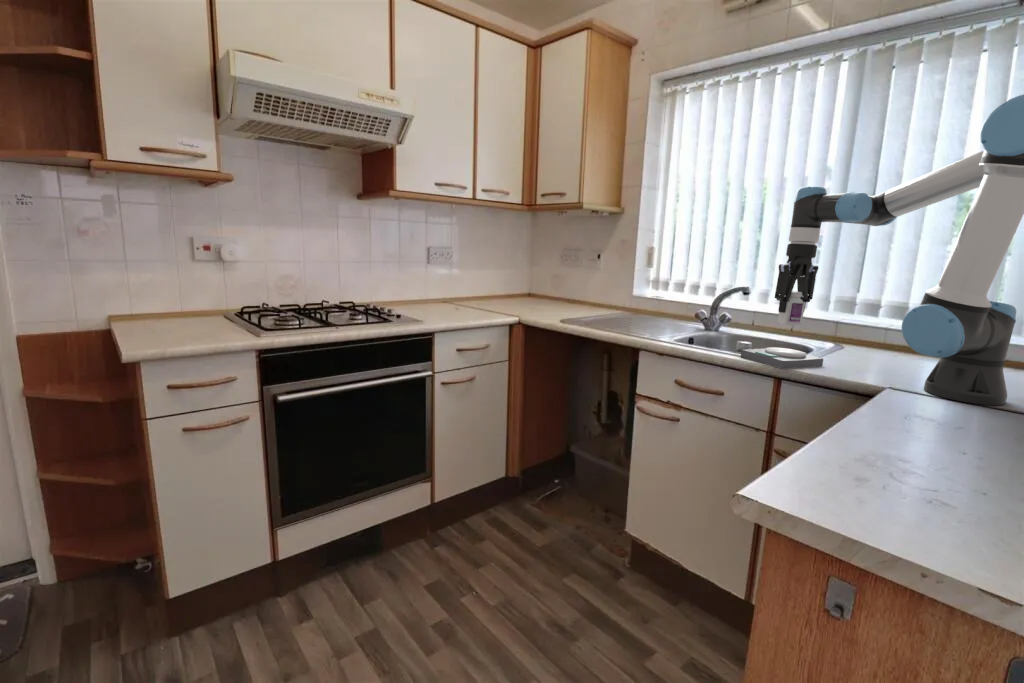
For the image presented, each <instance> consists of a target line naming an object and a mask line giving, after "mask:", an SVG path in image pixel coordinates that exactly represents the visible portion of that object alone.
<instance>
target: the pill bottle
mask: <svg viewBox="0 0 1024 683" xmlns="http://www.w3.org/2000/svg"><path fill="white" fill-rule="evenodd" d="M801 296H802V292H798V291H797V290H796V291H793V290H792V293H791V295H790V298H789V301H788V302H791V303H790V309H789V315H788V321H787V324H784V325H786V326H799V325H801V324H800V318H801V312H802V306H803V301H802V299H800V297H801Z"/></svg>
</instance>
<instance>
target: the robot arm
mask: <svg viewBox="0 0 1024 683" xmlns="http://www.w3.org/2000/svg"><path fill="white" fill-rule="evenodd" d="M979 133H980V134H979V141H980V143H981V145H982V148H983V149H984V150H981V151H980V152H977V153H974V154H972V155H969V156H967V157H964V158H963V159H960V160H958V161H955V162H953V163H950V164H947V165H945V166H943V167H941V168H938V169H935V170H933V171H931V172H929V173H926V174H924V175H921V176H919V177H916V178H914V179H911V180H910V181H907V182H904V183H901V184H899V185H898V186H895V187H892V188H890V189H888V190H886V191H882V192H881V193H878V194H875V195H868V193H866V192H857V191H856V192H855V191H849V192H844V193H843V192H842V193H840V192H839V193H827V192H828V190H827V188H826V187H824V186H800V188H798V189H797V190H796V194H795V197H794V198H795V199H794V201H793V208H792V218H791V225H790V229H789V230H790V231H789V235H788V242H790V243H788V244H787V248H786V253H785V256H786V257H788V259H787V261H786V263H784V264H778V276H777V282H776V287H775V292H774V299H776V300H777V301H779V305H778V310H777V311H778V316H777V320H776V321H777V324H781V325H785V324H787V321H788V315H789V309H790V303H791V302H788V301H789V298H790V295H791V293H792V291H793V289H794V287H795V283H797V292H802V296H801V297H800V299H802V301H803V306H802V312H801V318H800V324H799V325H802V323H803V318H804V313H805V309H806V304H807V303H810V302H811V301H812V300H813V299H814V298H813V296H814V290H815V283H816V279H817V278H816V277H817V273H818V270H819V266H818V265H813V262H812V261H813V259H815V258H816V256H817V250H818V245H817V243H819V242H820V233H821V227H822V223H844V224H854V225H867V226H870V227H879V226H881V227H882V226H887V225H890V224H891V223H893V222H894V221H895V220H896V219H897V218H899V217H900V216H903V215H905V214H908V213H911V212H915V211H917V210H920V209H923V208H926V207H928V206H931V205H933V204H936V203H939V202H942V201H944V200H947V199H950V198H953V197H955V196H959V195H961V194H964V193H966V192H969V191H973V190H974V189H977V191H976V194H975V196H974V198H973V201H972V203H971V205H970V208H969V209H968V212H967V215H966V217H965V219H964V221H963V224H962V226H961V229H960V231H959V233H958V236H957V237H956V241H955V243H954V245H953V248H952V250H951V253H950V254H949V257H948V259H947V261H946V264H945V266H944V269H943V271H942V274H941V276H940V278H939V280H938V283H937V285H936V286H934V287H931V288H929V289H927V290H926V291H925V293H924V295H923V297H922V300H921V302H920V304H919V305H917V306H915V307H914V308H912V309H910V310H909V311H908V312H907V313H906V314H905V316H904V317H903V320H902V322H901V334H902V338H903V339H904V341H905V343H906V345H908V347H910V349H911V350H913V351H914V352H916V353H918V354H921V355H923V356H928V357H933V358H934V357H935V358H939V359H938V361H937V363H936V364H935V366H934V367H933V369H932V370H931V371H930V373H929V375H928V376H927V377H926V380H925V381H924V385H923V390H924V391H925V392H926V393H930V394H932V395H935V396H937V397H942V398H944V399H945V398H946V399H949V400H952V401H953V400H954V401H957V402H958V401H959V402H963V403H968V404H976V405H985V406H1003V405H1004V406H1005V405H1006V402H1007V398H1008V391H1007V385H1006V379H1005V375H1004V367H1005V362H1006V359H1007V355H1008V351H1009V346H1010V342H1011V339H1012V336H1013V335H1012V334H1013V333H1014V331H1013V330H1014V328H1015V324H1016V322H1017V319H1016V318H1017V309H1016V307H1015V306H1014V305H1012V304H1009V303H1005V302H998V301H991V300H989V299H988V292H989V291H990V288H991V286H992V283H994V279H995V278H996V275H997V273H998V270H999V269H1000V266H1001V264H1002V262H1003V260H1004V258H1005V256H1006V253H1007V251H1008V249H1009V247H1010V245H1011V242H1012V240H1013V239H1014V237H1015V234H1016V232H1017V230H1018V227H1019V225H1020V223H1021V221H1022V219H1023V217H1024V94H1020V95H1016V96H1015V97H1012V98H1010V99H1008V100H1006V101H1005V102H1003V103H1001V104H1000V105H999V106H997V107H996V108H995V109H994V110H992V112H991V113H990V114H989V115H988V116H987V117H986V119H985V120H984V122H983V124H982V125H981V129H980V132H979Z"/></svg>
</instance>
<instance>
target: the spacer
mask: <svg viewBox="0 0 1024 683" xmlns="http://www.w3.org/2000/svg"><path fill="white" fill-rule="evenodd" d="M752 347H753V343H752V341H751V342H750V341H745V340H743V341H742V340H737V341H736V347H735V348H736V349H735V352H739V353H741V351H742V350H744V349H752Z"/></svg>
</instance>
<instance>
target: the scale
mask: <svg viewBox="0 0 1024 683" xmlns="http://www.w3.org/2000/svg"><path fill="white" fill-rule="evenodd" d="M740 358H744V359H747V360H751V361H754V362H757V363H762V364H765V365H768V366H771V367H776V368H779V369H782V370H783V369H798V368H799V369H800V368H813V367H823V364H824V358H823V357H822V358H821V357H819V356H814V355H810V354H807V352H804V351H803V350H802V351H801V350H797V349H794V348H793V349H792V348H785V347H773V346H772V347H765V348H751V349H744V350H742V351H741V352H740Z"/></svg>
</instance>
